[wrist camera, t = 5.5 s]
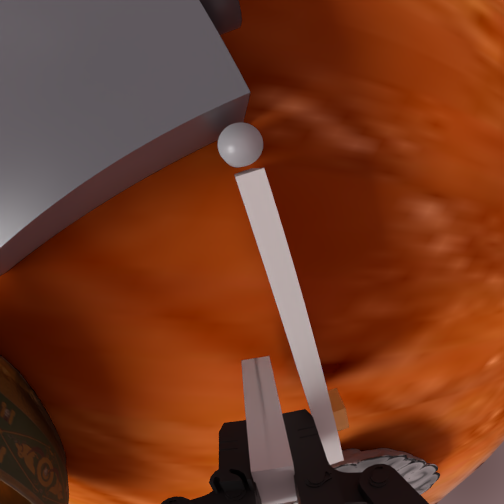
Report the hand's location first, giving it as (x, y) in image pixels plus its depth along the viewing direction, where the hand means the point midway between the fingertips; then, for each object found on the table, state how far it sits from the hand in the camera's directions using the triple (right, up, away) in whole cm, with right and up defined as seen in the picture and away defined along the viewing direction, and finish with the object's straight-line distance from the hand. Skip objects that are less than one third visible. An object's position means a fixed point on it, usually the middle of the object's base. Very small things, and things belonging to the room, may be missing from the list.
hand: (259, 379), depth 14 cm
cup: (-20, -7, +3) cm, 21 cm away
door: (+1, +5, +1) cm, 5 cm away
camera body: (-10, +13, -2) cm, 16 cm away
